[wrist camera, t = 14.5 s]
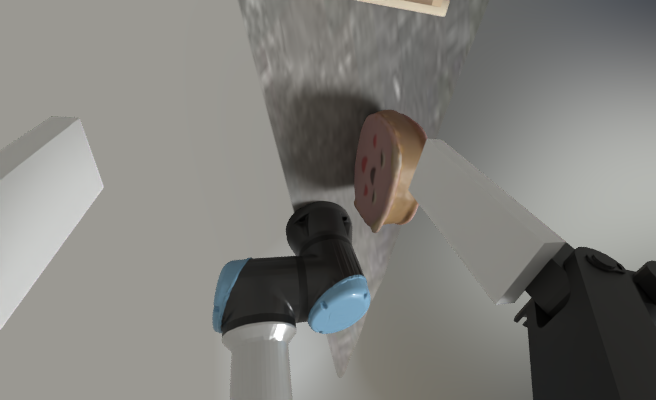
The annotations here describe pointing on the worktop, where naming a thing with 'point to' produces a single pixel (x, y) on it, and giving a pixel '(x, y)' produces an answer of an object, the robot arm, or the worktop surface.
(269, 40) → the worktop surface
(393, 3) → the square wooden tray
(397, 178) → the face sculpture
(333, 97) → the worktop surface
